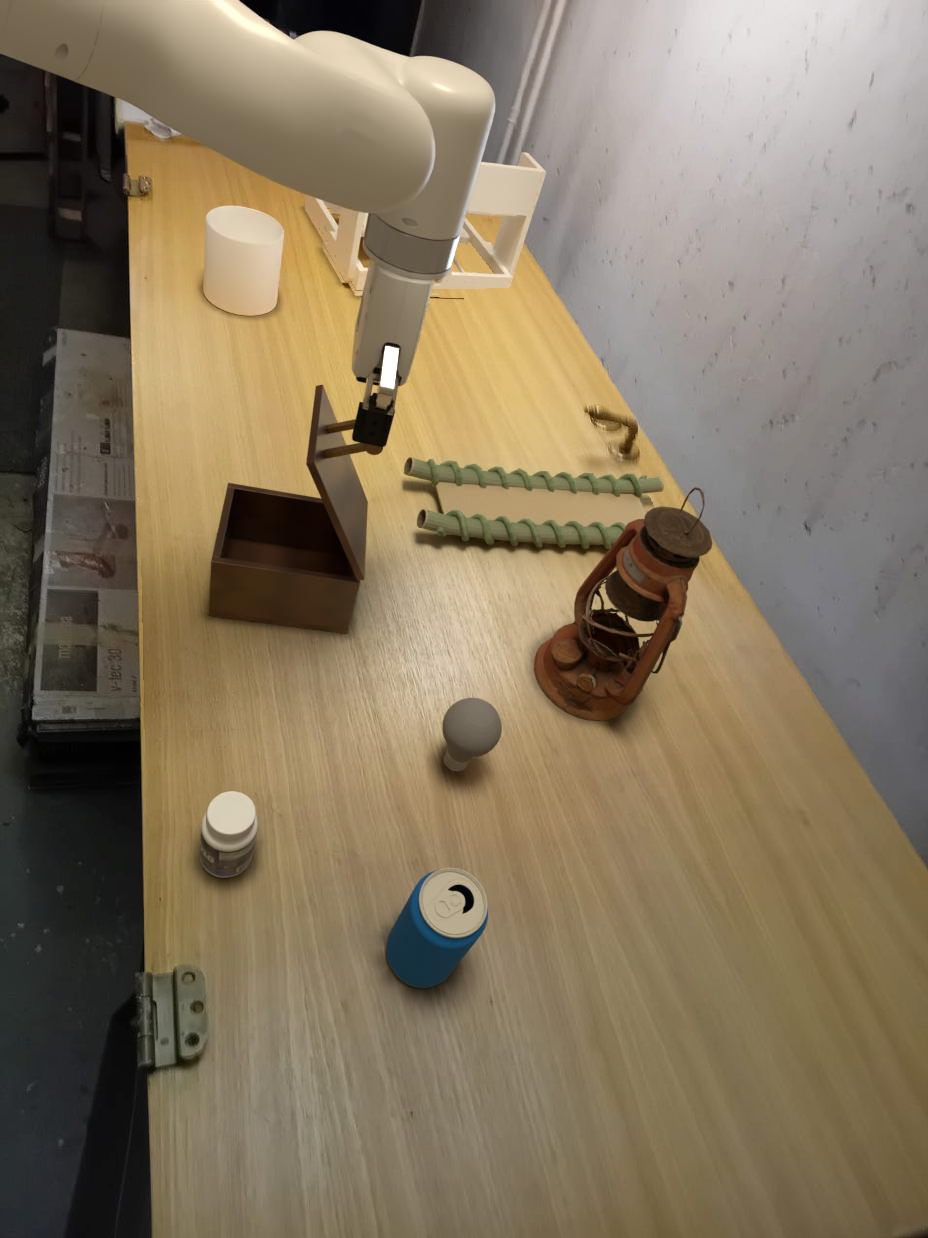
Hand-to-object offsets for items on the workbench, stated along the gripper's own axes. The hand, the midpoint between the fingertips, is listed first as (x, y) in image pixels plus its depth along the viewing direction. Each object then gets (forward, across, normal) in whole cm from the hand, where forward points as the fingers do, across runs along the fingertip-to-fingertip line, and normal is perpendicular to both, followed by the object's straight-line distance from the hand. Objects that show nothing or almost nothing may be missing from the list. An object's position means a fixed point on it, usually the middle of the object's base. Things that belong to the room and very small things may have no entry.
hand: (369, 411), depth 79 cm
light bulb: (+27, +22, +15) cm, 37 cm away
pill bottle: (+27, +34, -7) cm, 44 cm away
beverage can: (+27, +42, +11) cm, 51 cm away
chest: (+27, 0, -5) cm, 27 cm away
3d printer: (+26, -92, +10) cm, 96 cm away
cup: (+26, -62, -18) cm, 70 cm away
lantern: (+26, +8, +32) cm, 42 cm away
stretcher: (+26, -20, +30) cm, 44 cm away
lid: (+10, 0, -2) cm, 10 cm away
